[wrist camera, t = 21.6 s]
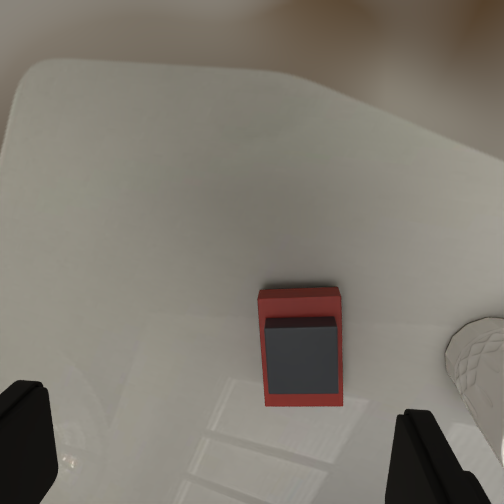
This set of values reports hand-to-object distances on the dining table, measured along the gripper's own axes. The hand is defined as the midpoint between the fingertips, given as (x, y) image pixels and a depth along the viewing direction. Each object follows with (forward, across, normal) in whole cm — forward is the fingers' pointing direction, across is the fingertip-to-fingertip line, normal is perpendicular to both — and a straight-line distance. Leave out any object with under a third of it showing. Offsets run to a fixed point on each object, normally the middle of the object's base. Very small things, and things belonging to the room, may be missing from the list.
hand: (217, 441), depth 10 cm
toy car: (+18, 0, +8) cm, 20 cm away
